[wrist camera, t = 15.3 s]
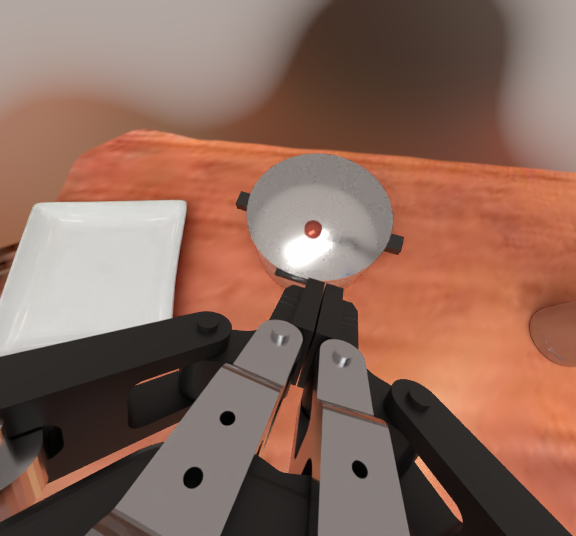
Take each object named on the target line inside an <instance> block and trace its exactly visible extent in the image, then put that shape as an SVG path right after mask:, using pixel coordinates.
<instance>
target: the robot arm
mask: <svg viewBox="0 0 576 536" xmlns="http://www.w3.org/2000/svg"><path fill="white" fill-rule="evenodd" d="M324 285H325V282H322V281H319V280H316V279H313V278H310V277H309V278H308V280H307V283H306V286H305V288H303V287H300V286H297V285H294V284H293V285H291V286H289V287H287V288H285V290H284V292H283V294H282V296H281V298H280V300H279V302H278V304H277V306H276V308H275V310H274V312H273V314H272V316H271V318H270V320H269V321H266V322H264V323H262V324H261V325H260V326H259V328H258V329H257V330H254V331H239V330H232V325H231V323H230V321H229V320H228V319H227V318H226V317H225V316H223V315H221V314H218V313H215V312H207V311H205V312H197V313H193V314H188V315H184V316H179V317H175V318H170V319H166V320H161V321H157V322H153V323H148V324H144V325H139V326H135V327H130V328H126V329H121V330H117V331H112V332H108V333H104V334H99V335H95V336H90V337H86V338H81V339H77V340H72V341H68V342H63V343H59V344H54V345H50V346H46V347H41V348H37V349H32V350H28V351H23V352H19V353H14V354H10V355H5V356H1V357H0V536H572V535H571V534H570V533H569V532H568V531H567V530H566V529H565V528H564V527H563V526H562V525H561V524H560V523H559V522H558V521H557V520H556V519H555V517H554V516H553V515H552V514H551V513H550V512H549V511H548V510H547V509H546V508H545V507H544V506H543V505H542V504H541V503H540V502H539V501H538V500H537V499H536V498H535V497H534V496H533V495H532V494H531V493H530V492H529V491H528V490H527V489H526V488H525V487H524V486H523V485H522V484H521V483H520V482H519V481H518V480H517V479H516V478H515V477H514V476H513V475H512V474H511V473H510V472H509V471H508V470H507V469H506V468H505V467H504V466H503V464H502V463H501V462H500V461H499V460H498V459H497V458H496V457H495V456H494V455H493V454H492V453H491V452H490V451H489V450H488V449H487V448H486V447H485V446H484V445H483V444H482V443H481V442H480V441H479V440H478V439H477V438H476V437H475V436H474V435H473V434H472V433H471V432H470V431H469V430H468V429H467V428H466V427H465V426H464V425H463V424H462V423H461V422H460V421H459V420H458V419H457V418H456V417H455V416H454V415H453V414H452V413H451V412H450V410H449V409H448V408H447V407H446V406H445V405H444V404H443V403H442V402H441V401H440V400H439V399H438V398H437V397H436V396H435V395H434V394H433V393H432V392H431V391H429V390H428V389H427V388H425V387H424V386H422V385H420V384H419V383H416V382H414V381H411V380H407V379H400V380H397V381H395V382H394V383H393V384H392V386H391V385H389V384H388V383H386V382H384V381H383V380H381V379H379V378H378V377H376V376H375V375H373V374H372V373H371V372H370V371H369V370H368V369H367V368H366V362H365V359H364V357H363V355H362V354H361V352H360V351H359V350H358V311H357V310H356V308H355V306H354V305H353V303H350V302H347V301H344V300H343V288H341V287H338V286H335V285H332V284H329V283H326V285H325V288H324ZM323 290H324V291H323ZM530 333H531V337H532V339H533V341H534V344H535V345H536V347H537V348H538V350H539V351H540V352H541V353H542V354H543V355H544V356H545V357H547V358H548V359H549V360H551V361H553V362H554V363H556V364H559V365H562V366H567V367H576V301H572V302H567V303H563V304H559V305H555V306H551V307H547V308H543V309H540V310H539V311H537V312H536V313H535V314H534V315H533V317H532V319H531V322H530ZM301 368H302V369H301ZM176 369H179V371H176V372H173V373H170V374H167V375H165V376H162V377H159V378H156V379H153V380H150V381H147V382H145V383H142V384H139V385H136V384H138V383H139V382H141V381H144V380H147V379H150V378H153V377H155V376H158V375H161V374H164V373H167V372H170V371H173V370H176ZM300 370H301V373H300ZM299 373H300V377H299V381H298V385H297V386H298V387H301V388H304V390H303V395H302V398H301V401H300V403H299V406H298V410H297V417H296V424H295V432H294V439H293V447H292V454H291V461H290V468H289V473H283V472H280V471H278V470H277V469H275V468H274V467H273V466H271V465H270V464H269V463H267V462H266V461H265V460H263V459H262V458H261V456H262V454H263V451H264V449H265V446H266V444H267V441H268V438H269V436H270V433H271V431H272V428H273V426H274V423H275V420H276V418H277V415H278V413H279V410H280V408H281V405H282V402H283V399H284V398H285V397H286V396H287V393H288V391H289V388H290V385H291V384H292V385H296V382H297V379H298V376H299ZM135 385H136V386H135ZM178 422H179V424H178V425H177V426H176V428H175V429H174V430H173V432H172V433H171V434H170V436H169V437H168V438H167V440H166V441H165V442H161V443H157V444H154V445H150V446H148V447H145V448H143V449H140V450H138V451H136V452H134V453H132V454H130V455H128V456H126V457H124V458H122V459H120V460H118V461H116V462H114V463H112V464H110V465H109V466H107V467H105V468H103V469H101V470H99V471H97V472H95V473H93V474H91V475H89V476H87V477H86V478H84V479H82V480H80V481H78V482H76V483H74V484H72V485H70V486H68V487H66V488H64V489H63V490H61V491H59V492H57V493H55V494H53V495H51V496H49V497H47V498H45V499H43V500H41V501H40V502H38V503H36V504H34V505H32V504H33V503H34V502H35V501H36V500H37V498H38V497H39V496H40V494H41V493H42V491H43V490H44V488H45V486H46V484H48V483H50V482H52V481H54V480H56V479H59V478H61V477H63V476H65V475H67V474H69V473H71V472H73V471H76V470H78V469H80V468H82V467H84V466H86V465H88V464H91V463H93V462H95V461H97V460H99V459H101V458H103V457H105V456H108V455H110V454H112V453H114V452H116V451H118V450H120V449H123V448H125V447H127V446H129V445H131V444H133V443H135V442H137V441H140V440H142V439H144V438H146V437H148V436H150V435H152V434H155V433H157V432H159V431H161V430H163V429H165V428H167V427H169V426H172V425H174V424H176V423H178ZM418 456H420V458H421V459H422V460H423V462H424V463H425V464H426V466H427V467H428V468H429V469H430V471H431V472H432V473H433V475H434V476H435V477H436V478H437V480H438V481H439V482H440V484H441V485H442V486H443V488H444V489H445V490H446V491H447V493H448V494H449V495H450V497H451V498H452V499H453V501H454V502H455V503H456V505H457V507H458V508H459V510H460V513H461V515H462V519H463V523H462V522H461V521H459V520H458V519H457V518H456V517H455V516H454V514H453V513H452V512H451V510H450V509H449V508H448V506H447V505H446V504H445V502H444V501H443V500H442V498H441V497H440V496H439V494H438V493H437V492H436V490H435V489H434V488H433V486H432V485H431V484H430V482H429V481H428V480H427V478H426V477H425V475H424V474H423V473H422V471H421V470H420V469H419V467H418V466H417V465H416V463H415V462H414V461H415V460H416V459H417V457H418ZM31 505H32V506H31Z"/></svg>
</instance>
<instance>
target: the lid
mask: <svg viewBox="0 0 576 536" xmlns="http://www.w3.org/2000/svg"><path fill="white" fill-rule="evenodd" d="M247 224H248V228H249V232H250V236H251V238H252V241H253V243H254V245H255V247H256V248H257V250H258V252H259V253H260V254H261V255H262V257H263V258H264V259H265V260H266V261H267V262H268V263H269V264H270V265H271V266H273V267H274V268H276V271H275V276H278V277H281V278H284V279H287V280H291V281H294V282H297V283H300V284H303V285H306V283H307V280H308V278H309V277H310V278H313V279H316V280H319V281H322V282H325V283H330V282H338V281H341V280H345V279H348V278H351V277H353V276H355V275H357V274H359V273H361V272H362V271H364V270H365V269H367V268H368V267H369V266H370V265H372V264H373V263H374V261H375V260H376V259H377V258H378V257H379V256H380V255H381V253H382V252H383V250H384V249H385V247H386V245H387V243H388V241H389V239H390V236H391V232H392V226H393V213H392V207H391V203H390V200H389V198H388V195H387V193H386V191H385V190H384V188H383V187H382V185H381V184H380V183H379V181H378V180H377V179H376V178H375V177H374V176H373V175H372V174H371V173H370V172H369V171H367V170H366V169H365V168H363V167H362V166H360V165H358V164H356V163H355V162H353V161H350V160H348V159H345V158H342V157H339V156H335V155H330V154H304V155H299V156H295V157H292V158H289V159H286V160H284V161H282V162H280V163H278V164H276V165H275V166H273V167H272V168H270V169H269V170H268V171H267V172H265V173H264V175H263V176H262V177H261V178H260V179H259V180H258V182H257V183H256V184H255V186H254V188H253V190H252V192H251V194H250V197H249V200H248V205H247Z"/></svg>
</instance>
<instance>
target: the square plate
mask: <svg viewBox="0 0 576 536" xmlns="http://www.w3.org/2000/svg"><path fill="white" fill-rule="evenodd" d="M186 211H187V203H186V201H184V200H147V201H107V202H47V203H37V204H35V205H34V206H33V208H32V210H31V213H30V216H29V218H28V222H27V224H26V227H25V230H24V232H23V235H22V238H21V241H20V243H19V246H18V249H17V252H16V255H15V258H14V261H13V264H12V266H11V269H10V272H9V275H8V278H7V281H6V284H5V286H4V289H3V292H2V295H1V298H0V357H1V356H5V355H10V354H14V353H19V352H23V351H28V350H32V349H37V348H41V347H46V346H50V345H54V344H59V343H63V342H68V341H72V340H77V339H81V338H86V337H90V336H95V335H99V334H104V333H108V332H112V331H117V330H121V329H126V328H130V327H135V326H139V325H144V324H148V323H153V322H157V321H161V320H166V319H170V318H173V304H174V293H175V282H176V273H177V266H178V259H179V253H180V247H181V241H182V236H183V230H184V224H185V218H186Z"/></svg>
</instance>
